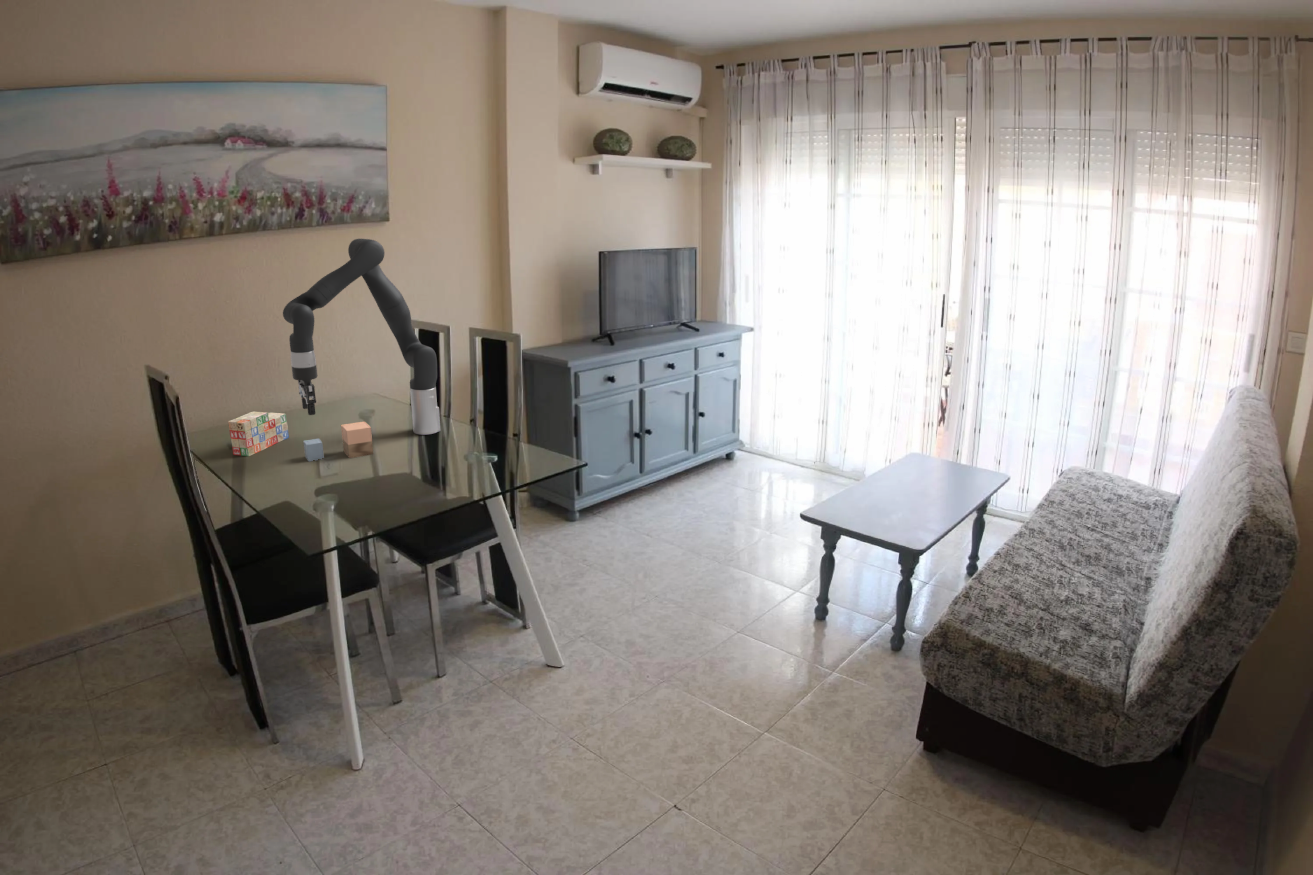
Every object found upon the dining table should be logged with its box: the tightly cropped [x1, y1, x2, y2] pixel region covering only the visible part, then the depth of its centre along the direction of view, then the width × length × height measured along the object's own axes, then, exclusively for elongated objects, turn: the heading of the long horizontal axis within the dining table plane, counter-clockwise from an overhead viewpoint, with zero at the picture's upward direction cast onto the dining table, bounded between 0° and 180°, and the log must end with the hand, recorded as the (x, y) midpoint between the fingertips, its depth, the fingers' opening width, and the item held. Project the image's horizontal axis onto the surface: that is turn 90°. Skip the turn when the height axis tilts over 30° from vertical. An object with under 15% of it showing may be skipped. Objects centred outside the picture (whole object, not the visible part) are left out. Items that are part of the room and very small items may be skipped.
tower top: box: [340, 421, 373, 445], centre depth 278 cm, size 8×8×5 cm
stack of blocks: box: [228, 411, 290, 457], centre depth 283 cm, size 21×6×12 cm, turn 167°
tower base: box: [341, 438, 374, 459], centre depth 280 cm, size 8×8×5 cm
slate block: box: [303, 437, 325, 462], centre depth 274 cm, size 5×5×6 cm
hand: (309, 411), depth 269 cm, fingers open, 8 cm apart
